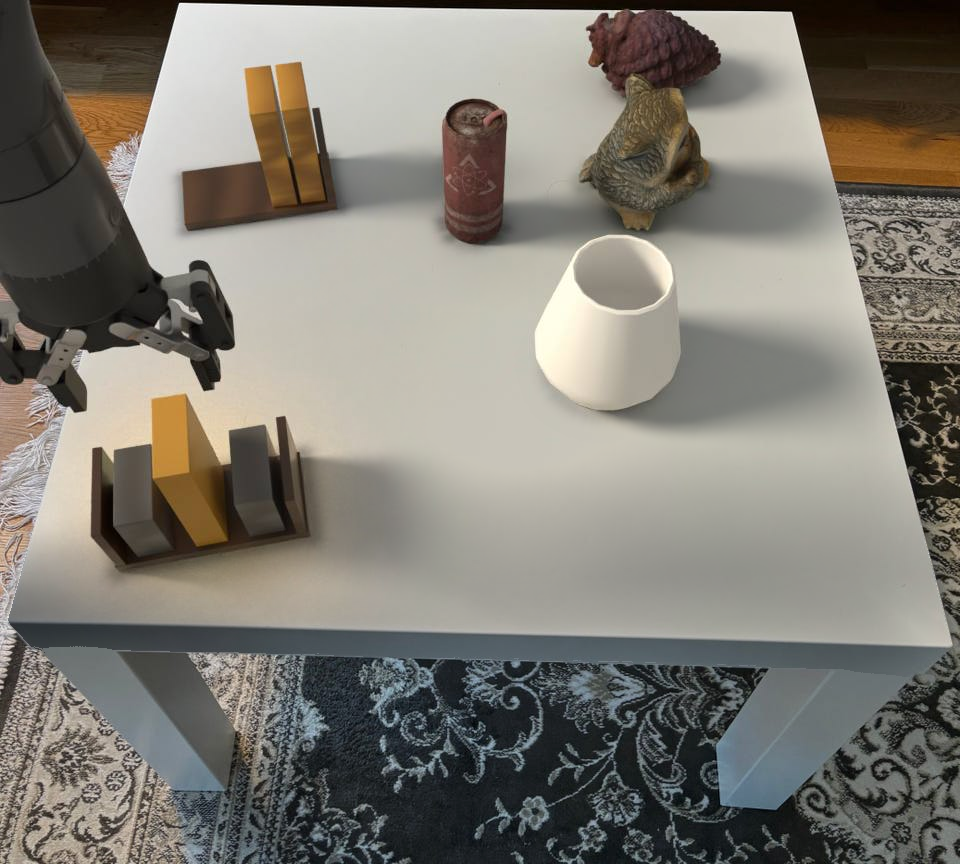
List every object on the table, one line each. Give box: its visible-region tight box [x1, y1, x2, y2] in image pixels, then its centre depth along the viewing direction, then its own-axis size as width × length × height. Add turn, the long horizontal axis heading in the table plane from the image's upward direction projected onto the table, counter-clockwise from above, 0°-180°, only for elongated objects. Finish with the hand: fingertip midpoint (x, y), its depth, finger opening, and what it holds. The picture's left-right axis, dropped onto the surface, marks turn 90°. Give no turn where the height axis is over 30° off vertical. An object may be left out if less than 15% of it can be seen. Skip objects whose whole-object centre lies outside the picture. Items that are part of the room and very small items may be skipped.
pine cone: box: [585, 8, 722, 99], centre depth 103 cm, size 18×10×10 cm
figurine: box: [578, 74, 711, 232], centre depth 90 cm, size 14×15×15 cm
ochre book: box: [150, 393, 228, 547], centre depth 71 cm, size 3×7×12 cm, turn 12°
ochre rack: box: [181, 61, 339, 231], centre depth 91 cm, size 16×8×13 cm, turn 102°
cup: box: [534, 234, 682, 411], centre depth 79 cm, size 13×13×14 cm
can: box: [441, 98, 508, 245], centre depth 88 cm, size 6×6×14 cm
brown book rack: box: [89, 415, 312, 573], centre depth 74 cm, size 16×8×7 cm, turn 102°
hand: (145, 390), depth 61 cm, fingers open, 8 cm apart
